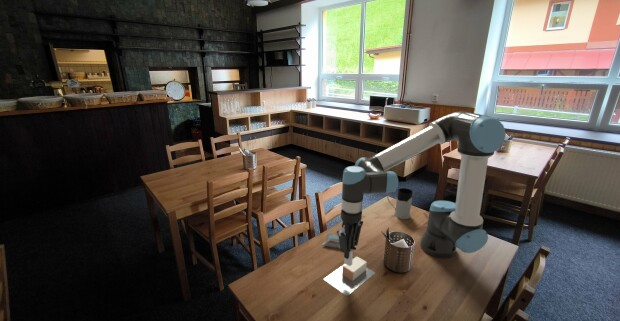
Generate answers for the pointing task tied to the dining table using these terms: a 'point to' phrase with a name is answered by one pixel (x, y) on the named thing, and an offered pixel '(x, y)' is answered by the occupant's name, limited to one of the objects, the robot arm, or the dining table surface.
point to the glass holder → (403, 203)
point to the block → (354, 268)
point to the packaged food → (332, 241)
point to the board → (347, 280)
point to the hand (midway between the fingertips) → (348, 263)
